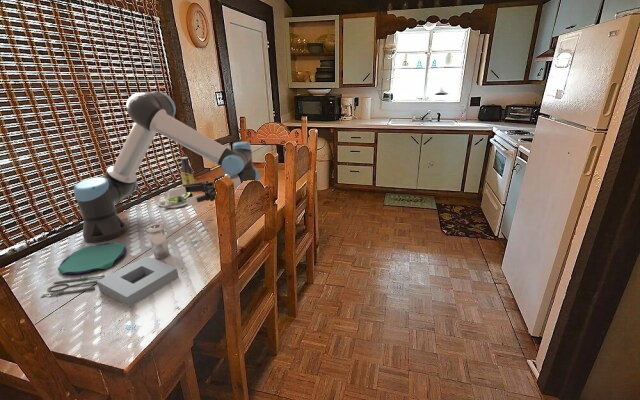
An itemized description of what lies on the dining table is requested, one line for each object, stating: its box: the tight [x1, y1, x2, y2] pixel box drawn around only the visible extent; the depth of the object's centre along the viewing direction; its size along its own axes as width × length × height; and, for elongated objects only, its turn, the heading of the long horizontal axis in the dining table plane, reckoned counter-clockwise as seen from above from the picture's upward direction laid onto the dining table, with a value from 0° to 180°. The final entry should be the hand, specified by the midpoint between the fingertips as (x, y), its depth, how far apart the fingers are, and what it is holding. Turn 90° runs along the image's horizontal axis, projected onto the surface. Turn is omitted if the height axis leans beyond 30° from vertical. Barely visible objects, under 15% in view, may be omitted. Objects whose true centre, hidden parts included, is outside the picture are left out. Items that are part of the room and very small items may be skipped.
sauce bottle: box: [180, 156, 195, 186], centre depth 177 cm, size 7×6×20 cm
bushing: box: [145, 222, 171, 261], centre depth 110 cm, size 6×6×12 cm
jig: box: [96, 255, 179, 308], centre depth 96 cm, size 16×16×4 cm
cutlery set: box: [40, 242, 127, 299], centre depth 105 cm, size 20×30×2 cm, turn 12°
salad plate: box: [157, 192, 194, 209], centre depth 160 cm, size 19×18×5 cm
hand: (177, 198), depth 112 cm, fingers open, 13 cm apart
